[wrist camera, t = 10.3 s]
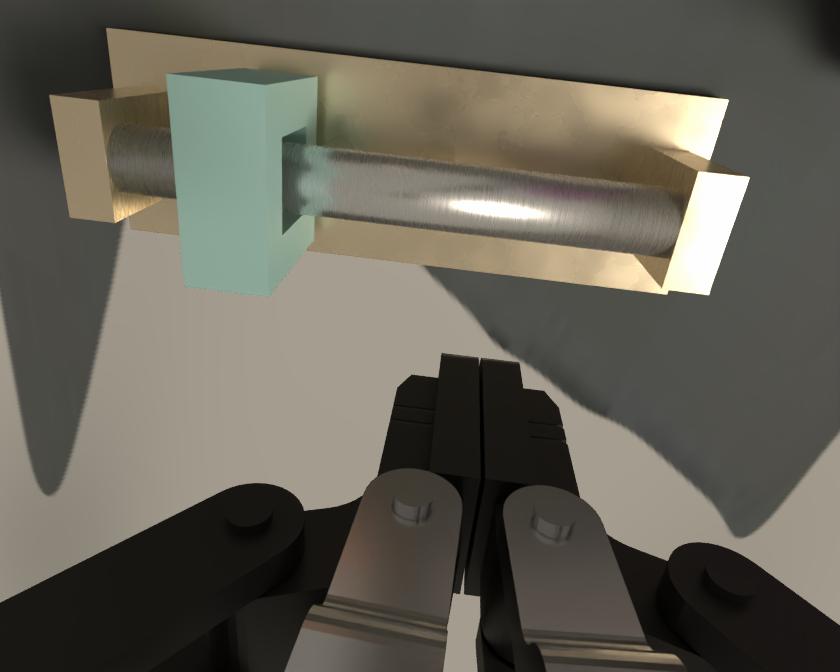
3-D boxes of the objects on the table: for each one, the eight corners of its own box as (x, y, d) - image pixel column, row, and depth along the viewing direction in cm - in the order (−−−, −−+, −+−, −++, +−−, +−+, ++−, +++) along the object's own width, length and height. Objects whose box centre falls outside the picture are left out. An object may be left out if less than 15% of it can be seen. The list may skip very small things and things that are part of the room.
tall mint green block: (317, 76, 27) (265, 85, 20) (313, 239, 31) (268, 296, 24) (244, 68, 27) (166, 73, 20) (249, 232, 31) (184, 286, 24)
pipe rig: (720, 98, 28) (803, 113, 21) (661, 287, 33) (714, 350, 26) (117, 28, 29) (7, 20, 22) (139, 224, 33) (55, 269, 26)
